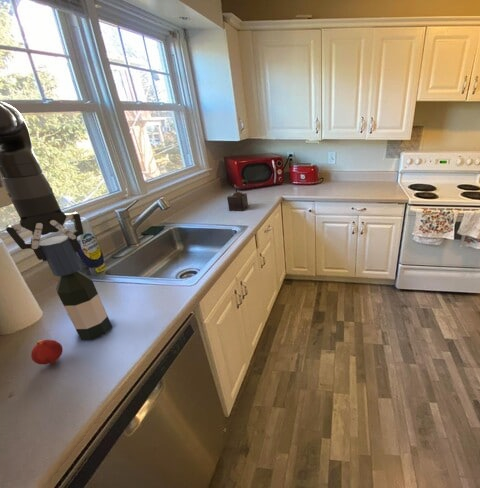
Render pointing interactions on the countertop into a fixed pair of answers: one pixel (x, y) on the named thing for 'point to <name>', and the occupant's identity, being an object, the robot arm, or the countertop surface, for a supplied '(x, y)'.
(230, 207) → the manual coffee grinder
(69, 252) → the cup
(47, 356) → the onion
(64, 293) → the wine bottle
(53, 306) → the countertop surface
